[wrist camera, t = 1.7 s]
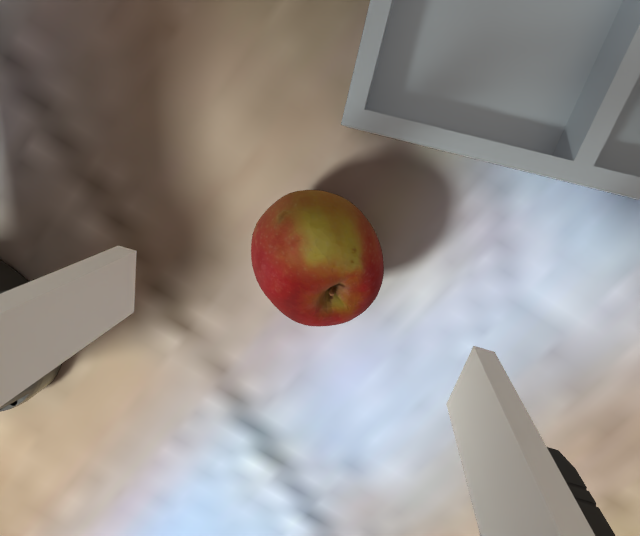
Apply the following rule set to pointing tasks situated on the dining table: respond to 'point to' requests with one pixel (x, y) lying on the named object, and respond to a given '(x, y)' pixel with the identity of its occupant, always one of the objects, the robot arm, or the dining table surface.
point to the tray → (507, 84)
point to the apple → (317, 258)
